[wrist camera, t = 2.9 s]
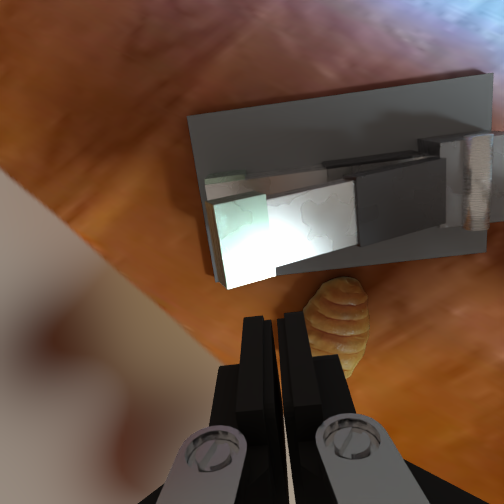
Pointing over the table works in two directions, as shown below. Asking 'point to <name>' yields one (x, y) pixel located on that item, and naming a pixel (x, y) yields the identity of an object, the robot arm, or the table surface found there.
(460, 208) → the stand
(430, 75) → the table surface
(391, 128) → the slate mat
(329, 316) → the pastry
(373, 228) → the bar
